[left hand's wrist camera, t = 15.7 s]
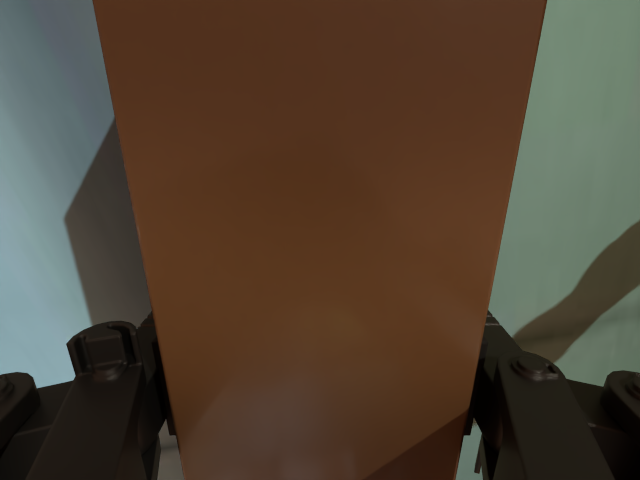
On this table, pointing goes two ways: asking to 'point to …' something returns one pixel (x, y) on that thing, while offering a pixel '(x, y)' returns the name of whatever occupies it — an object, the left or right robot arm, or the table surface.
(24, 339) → the table surface
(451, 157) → the bar
